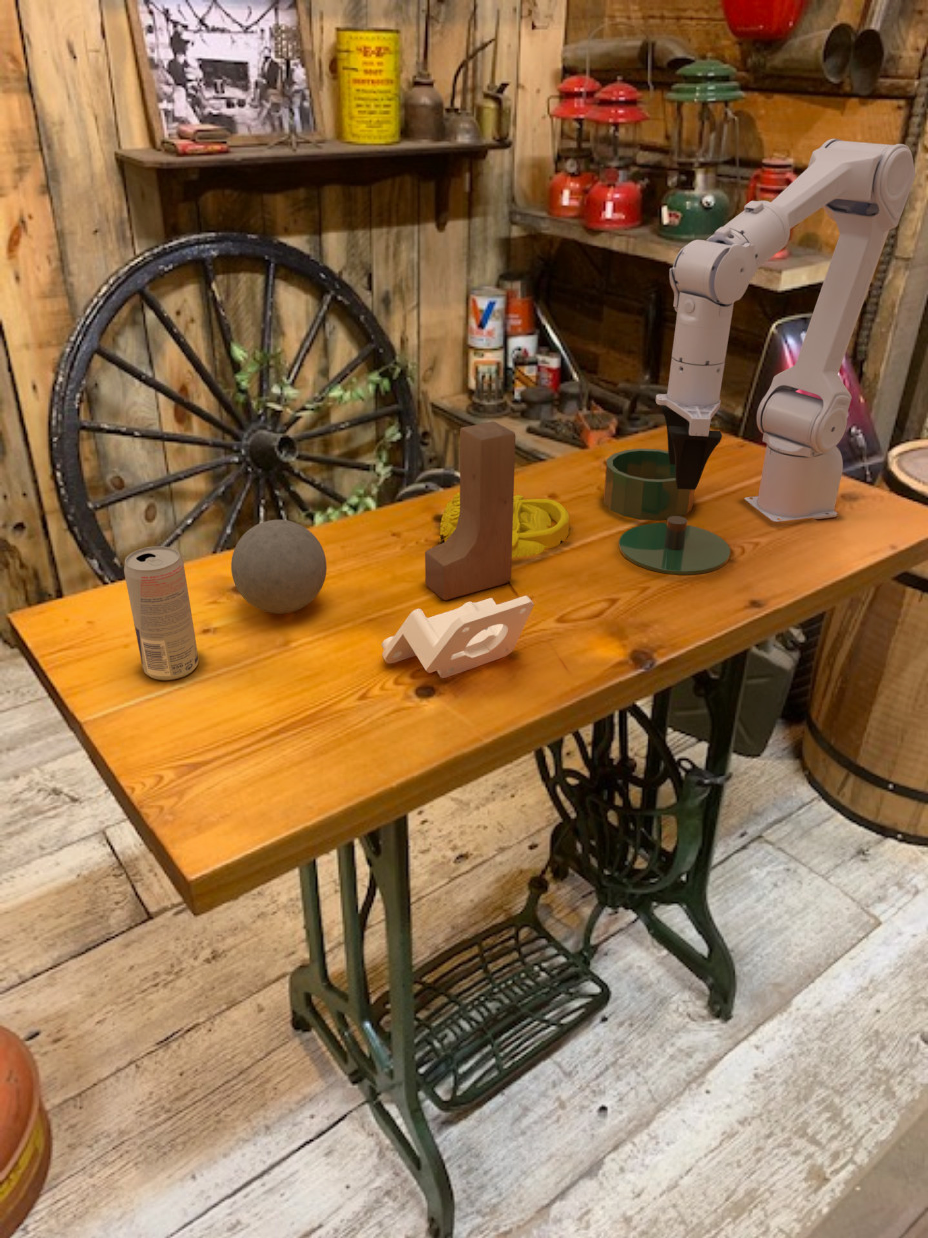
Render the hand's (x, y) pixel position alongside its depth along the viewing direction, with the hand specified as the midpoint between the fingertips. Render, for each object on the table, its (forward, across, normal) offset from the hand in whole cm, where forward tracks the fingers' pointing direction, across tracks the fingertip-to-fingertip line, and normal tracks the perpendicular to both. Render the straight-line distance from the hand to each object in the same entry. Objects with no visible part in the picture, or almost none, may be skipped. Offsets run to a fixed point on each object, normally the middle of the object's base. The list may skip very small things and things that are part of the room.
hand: (682, 475), depth 114 cm
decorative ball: (+11, +17, -44) cm, 48 cm away
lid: (+10, 0, 0) cm, 10 cm away
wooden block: (+11, +10, -24) cm, 28 cm away
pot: (+10, -14, -2) cm, 17 cm away
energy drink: (+11, +29, -52) cm, 61 cm away
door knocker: (+10, -4, -20) cm, 23 cm away
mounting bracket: (+11, +27, -24) cm, 38 cm away
